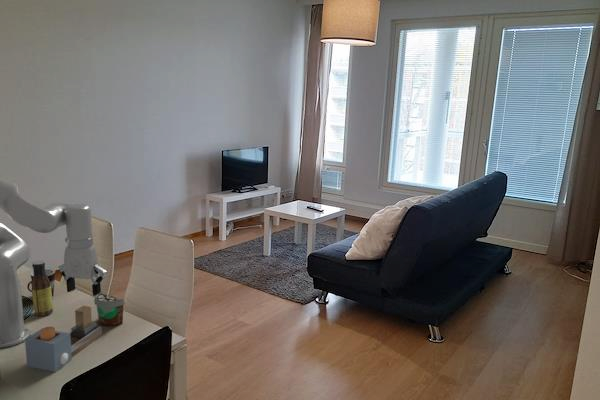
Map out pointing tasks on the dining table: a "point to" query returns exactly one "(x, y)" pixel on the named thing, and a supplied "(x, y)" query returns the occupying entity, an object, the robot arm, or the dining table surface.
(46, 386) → the dining table surface
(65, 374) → the dining table surface
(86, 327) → the carriage
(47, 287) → the sauce bottle
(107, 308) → the food container
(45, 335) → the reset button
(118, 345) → the dining table surface
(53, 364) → the blue-grey box
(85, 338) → the rail
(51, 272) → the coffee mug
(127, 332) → the dining table surface
